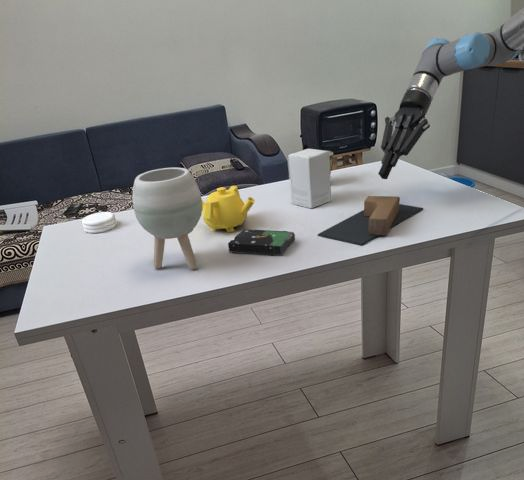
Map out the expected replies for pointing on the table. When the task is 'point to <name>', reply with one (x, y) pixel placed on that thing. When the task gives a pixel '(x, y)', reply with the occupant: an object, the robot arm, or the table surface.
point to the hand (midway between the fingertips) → (382, 176)
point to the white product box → (310, 177)
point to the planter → (168, 209)
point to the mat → (363, 226)
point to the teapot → (225, 209)
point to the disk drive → (262, 242)
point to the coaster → (99, 222)
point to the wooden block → (381, 213)
